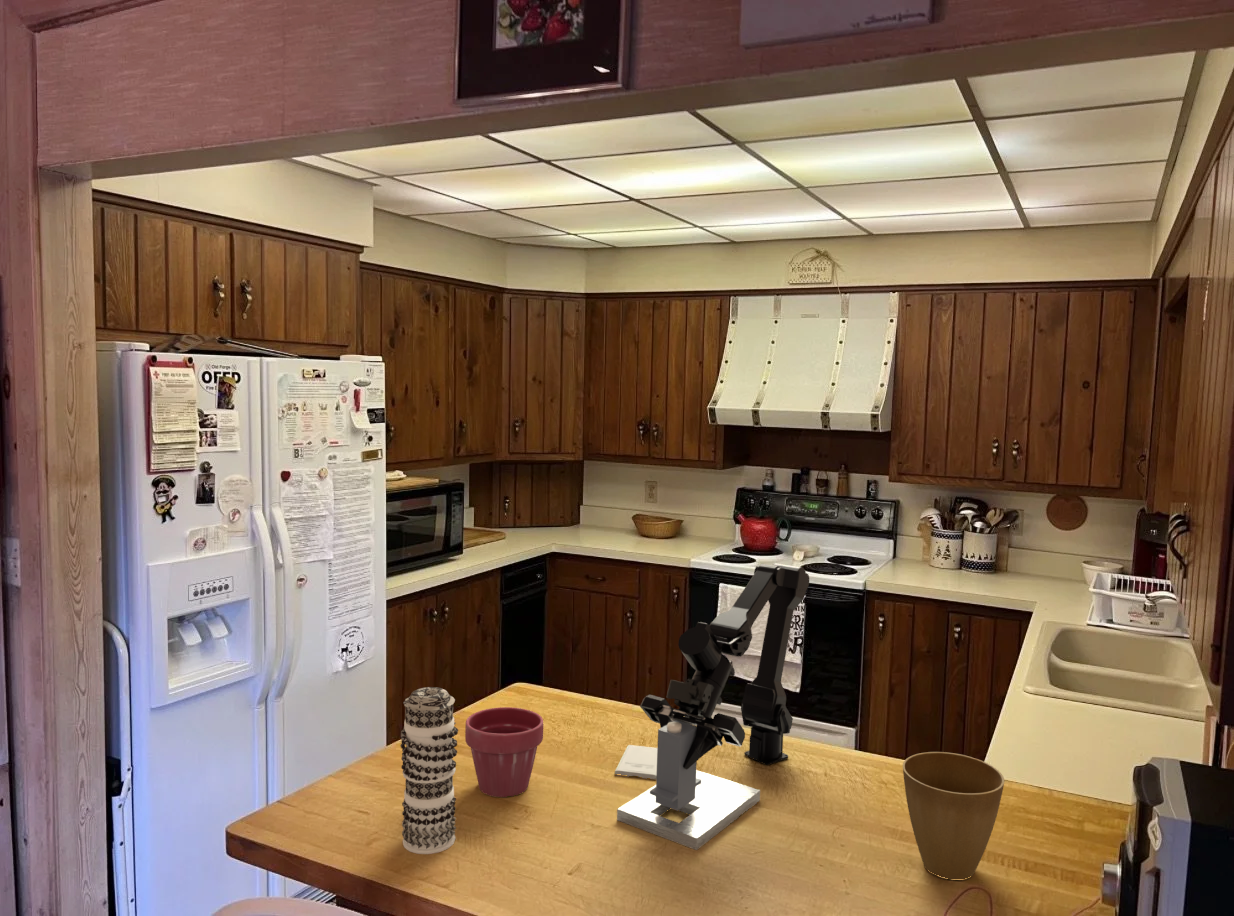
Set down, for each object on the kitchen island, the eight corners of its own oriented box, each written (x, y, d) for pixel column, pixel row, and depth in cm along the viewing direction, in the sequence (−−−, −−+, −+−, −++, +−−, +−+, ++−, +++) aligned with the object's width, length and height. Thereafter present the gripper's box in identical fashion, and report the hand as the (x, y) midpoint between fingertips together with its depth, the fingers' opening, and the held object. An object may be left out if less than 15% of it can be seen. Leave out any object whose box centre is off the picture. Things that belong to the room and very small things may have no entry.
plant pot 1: (533, 766, 178) (533, 702, 177) (550, 798, 164) (551, 729, 163) (459, 775, 173) (459, 709, 172) (471, 808, 160) (472, 738, 159)
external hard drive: (666, 756, 185) (656, 782, 173) (627, 752, 187) (614, 777, 175) (667, 748, 185) (656, 774, 173) (627, 744, 187) (614, 769, 175)
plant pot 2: (905, 836, 153) (910, 744, 152) (1001, 858, 147) (1007, 762, 145) (890, 879, 140) (895, 779, 138) (995, 906, 133) (1001, 801, 132)
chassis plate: (684, 776, 175) (685, 766, 174) (759, 800, 165) (760, 790, 165) (616, 820, 157) (617, 808, 157) (696, 850, 147) (696, 838, 147)
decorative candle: (457, 825, 154) (458, 681, 152) (457, 853, 145) (458, 700, 143) (402, 828, 153) (402, 683, 150) (398, 857, 143) (398, 703, 141)
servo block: (679, 787, 162) (682, 711, 160) (700, 795, 159) (703, 718, 158) (649, 806, 155) (652, 727, 153) (671, 814, 152) (674, 734, 150)
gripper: (647, 650, 163) (609, 728, 155) (739, 672, 152) (703, 757, 144) (670, 681, 170) (634, 758, 162) (759, 704, 159) (726, 787, 151)
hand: (672, 764), depth 155 cm, fingers closed on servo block, 5 cm apart
